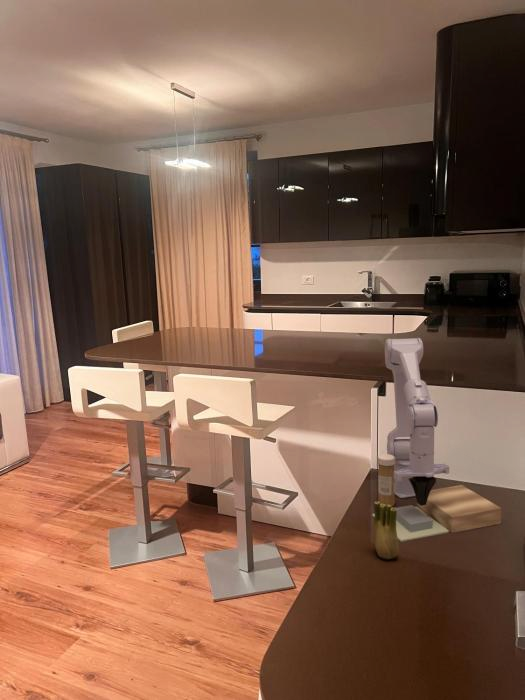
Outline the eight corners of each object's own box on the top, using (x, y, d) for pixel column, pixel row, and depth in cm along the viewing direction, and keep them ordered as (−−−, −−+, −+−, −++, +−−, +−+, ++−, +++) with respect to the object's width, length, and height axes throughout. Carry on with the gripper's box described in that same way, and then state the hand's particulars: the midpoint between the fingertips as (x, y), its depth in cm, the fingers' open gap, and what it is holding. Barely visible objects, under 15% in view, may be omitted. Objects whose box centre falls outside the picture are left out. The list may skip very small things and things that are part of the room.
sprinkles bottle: (398, 503, 137) (398, 455, 135) (389, 508, 134) (389, 460, 132) (383, 498, 141) (383, 452, 139) (374, 503, 138) (374, 456, 136)
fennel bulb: (371, 550, 114) (370, 500, 113) (391, 547, 115) (391, 497, 114) (381, 564, 109) (381, 511, 107) (402, 561, 110) (403, 509, 108)
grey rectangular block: (412, 505, 131) (412, 512, 131) (391, 508, 129) (391, 515, 129) (432, 520, 122) (432, 528, 122) (410, 524, 120) (410, 532, 121)
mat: (372, 515, 131) (372, 514, 131) (416, 507, 134) (416, 506, 134) (400, 541, 117) (400, 540, 117) (448, 532, 121) (449, 530, 121)
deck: (416, 506, 135) (416, 492, 134) (461, 498, 139) (461, 485, 138) (452, 533, 121) (452, 517, 120) (500, 523, 124) (501, 508, 124)
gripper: (404, 460, 118) (404, 515, 120) (457, 452, 122) (456, 505, 124) (389, 451, 125) (389, 503, 127) (439, 444, 129) (439, 494, 131)
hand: (421, 503), depth 126 cm, fingers closed
